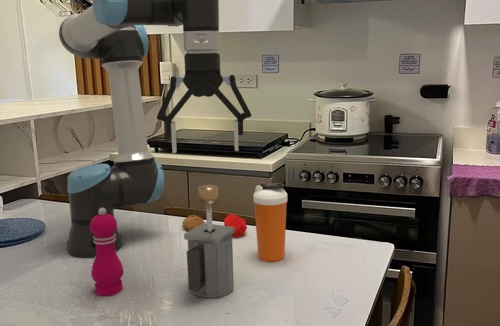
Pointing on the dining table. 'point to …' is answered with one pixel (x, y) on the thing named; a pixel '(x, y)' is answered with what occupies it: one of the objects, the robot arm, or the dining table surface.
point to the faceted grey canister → (210, 261)
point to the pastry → (192, 222)
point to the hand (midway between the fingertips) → (205, 151)
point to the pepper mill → (106, 255)
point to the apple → (236, 224)
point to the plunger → (208, 201)
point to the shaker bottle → (270, 220)
